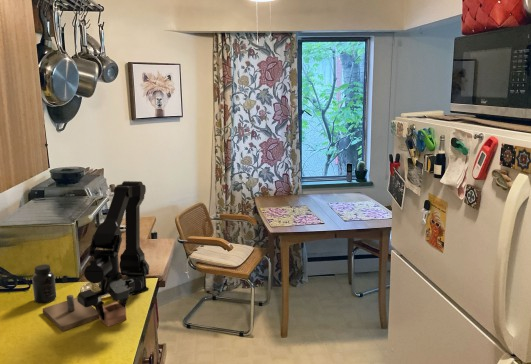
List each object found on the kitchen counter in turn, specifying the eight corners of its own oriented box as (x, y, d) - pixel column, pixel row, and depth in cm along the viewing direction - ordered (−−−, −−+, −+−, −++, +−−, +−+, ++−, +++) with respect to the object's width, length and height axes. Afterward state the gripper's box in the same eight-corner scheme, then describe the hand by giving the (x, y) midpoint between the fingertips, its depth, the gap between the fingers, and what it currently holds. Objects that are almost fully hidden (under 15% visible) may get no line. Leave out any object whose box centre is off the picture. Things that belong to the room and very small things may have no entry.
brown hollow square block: (117, 313, 145) (116, 301, 144) (126, 319, 141) (125, 307, 140) (99, 319, 141) (98, 307, 140) (108, 326, 137) (107, 314, 136)
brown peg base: (79, 300, 153) (78, 282, 152) (101, 317, 142) (99, 298, 141) (42, 312, 145) (40, 294, 144) (62, 331, 134) (60, 311, 132)
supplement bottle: (30, 301, 152) (26, 268, 150) (47, 293, 158) (44, 261, 156) (43, 306, 149) (39, 272, 147) (61, 297, 155) (57, 265, 153)
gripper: (90, 286, 125) (95, 337, 128) (150, 268, 138) (152, 314, 141) (74, 275, 133) (78, 323, 136) (132, 258, 146) (134, 303, 149)
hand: (112, 316), depth 140 cm, fingers closed on brown hollow square block, 6 cm apart
